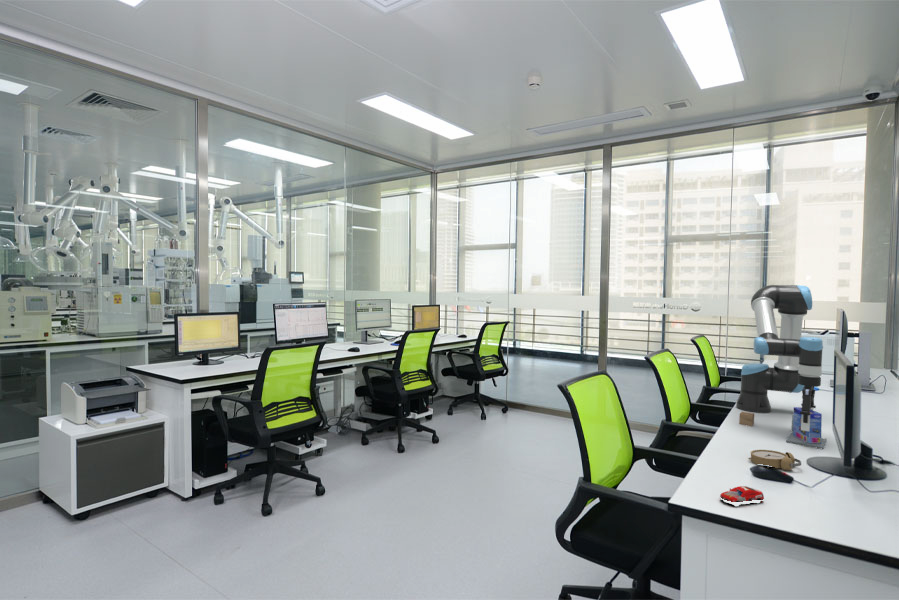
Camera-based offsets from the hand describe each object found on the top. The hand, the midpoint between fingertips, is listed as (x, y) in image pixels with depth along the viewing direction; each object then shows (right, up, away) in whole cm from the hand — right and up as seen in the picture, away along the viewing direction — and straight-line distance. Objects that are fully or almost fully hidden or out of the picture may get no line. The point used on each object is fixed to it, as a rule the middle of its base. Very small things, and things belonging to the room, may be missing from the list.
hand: (806, 426), depth 195 cm
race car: (-61, -8, -55) cm, 82 cm away
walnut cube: (-10, -5, +24) cm, 26 cm away
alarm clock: (-31, -7, -26) cm, 41 cm away
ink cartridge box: (0, -5, 0) cm, 5 cm away
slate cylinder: (+6, -6, +13) cm, 16 cm away
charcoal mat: (0, -6, 0) cm, 6 cm away
